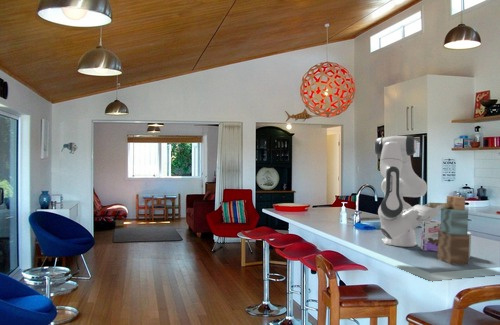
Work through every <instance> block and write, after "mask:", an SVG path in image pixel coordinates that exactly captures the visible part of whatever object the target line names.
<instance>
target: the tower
mask: <svg viewBox="0 0 500 325" xmlns="http://www.w3.org/2000/svg"><path fill="white" fill-rule="evenodd" d="M440 221H441V226H440V231H438V252H437V257H436V259H438V260H441V261H442V262H444V261H445V262H444V263H446V264H449V265H469V260H470V258H469V235H467V232H469V230H468V229H469V226H468V225H469V210H467V209H465V210H454V209H440Z"/></svg>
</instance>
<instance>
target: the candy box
mask: <svg viewBox="0 0 500 325" xmlns="http://www.w3.org/2000/svg"><path fill="white" fill-rule="evenodd" d="M440 226H441V220H434V219H432V220H430V221H427V222H424V221H421V234H420V236H421V237H420V249H421V250H422V251H423V252H424V251H425V252H438V231H440Z"/></svg>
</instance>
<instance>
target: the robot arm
mask: <svg viewBox="0 0 500 325" xmlns="http://www.w3.org/2000/svg"><path fill="white" fill-rule="evenodd" d="M373 147H374V148H373V149H374V152H375V154H376V155H377V157H380V159H379V160H380V161H379V170H380V175H381V177H383V178H384V179H383V180H382V182H381V184H380V188H381V191H382V193H383V194H384V197H383V199H382V201H381V203H380V205H379V207H378V209H377V214H378V218H379V220H380V221H379V222H380V230H381V233H382V234H383V236H384V237H385V238H381V241H382V242H383V243H384V245H388V246H389V245H390V246H396V247H407V248H408V247H409V248H410V247H415V246H418V242H416V230H414V229H416V228H417V227H419V226H422V221H424V222H427V221H430V220H434V219H435V218H438V217H439V216H440V213H439V212H440V211H441V209H442V208H443V207H442V205H440V204H439V205H438V206H437V207H436V208H431V207H428V203H426V204H422V205H421V204H415V205H413V206H412V205H411V204H409V203H408V202H406V201H405V200H404V197H405V198H406V197H407V198H419V197H424V196H425V195H426V194H427V192H428V185H427V182H426V181H425V180H424V179H423V178H421V177H419V175H417V173H415V171H414V169H413V166H412V160H411V156H413V155H414V154H415V153H416V152H417V149H418V142H417V141H416V138H415V137H414V136H411V135H407V136H406V135H394V136H393V135H392V136H386V137H382V136H381V137H378V138H377V139H376V140H375V142H374V145H373ZM429 203H432V202H431V201H430V202H429Z"/></svg>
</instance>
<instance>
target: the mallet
mask: <svg viewBox="0 0 500 325" xmlns="http://www.w3.org/2000/svg"><path fill="white" fill-rule="evenodd" d="M427 204H428V207H431V208H436V207H437V206H438V205H439V204H440V205H442V207H443V208H442V209H454V210H466V197H463V196H458V195H447V196H446V202H431V203H430V202H428V203H427Z"/></svg>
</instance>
